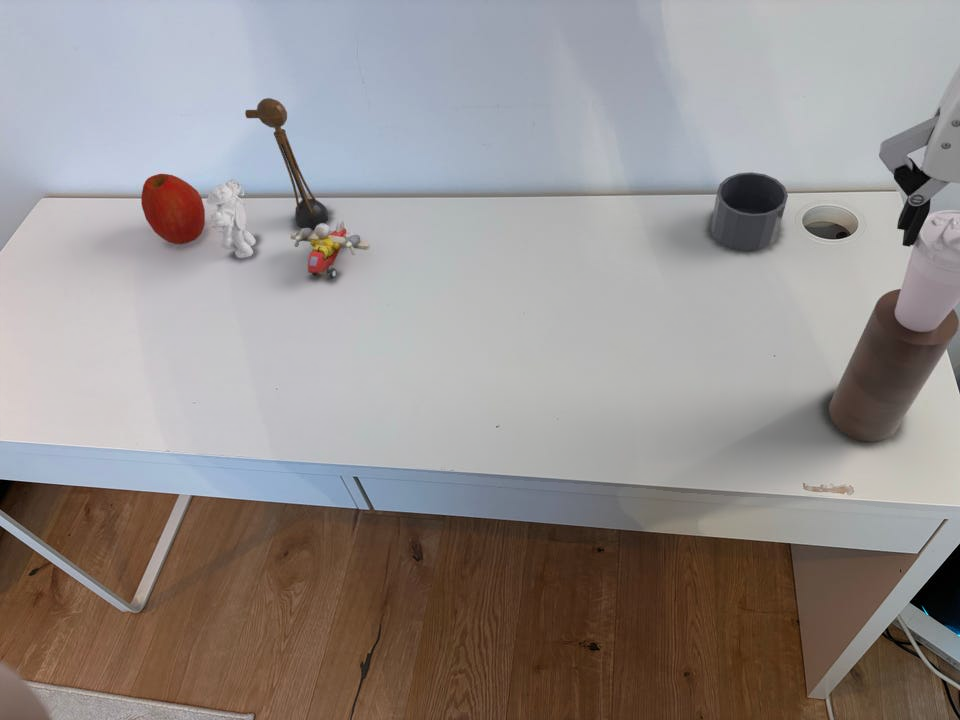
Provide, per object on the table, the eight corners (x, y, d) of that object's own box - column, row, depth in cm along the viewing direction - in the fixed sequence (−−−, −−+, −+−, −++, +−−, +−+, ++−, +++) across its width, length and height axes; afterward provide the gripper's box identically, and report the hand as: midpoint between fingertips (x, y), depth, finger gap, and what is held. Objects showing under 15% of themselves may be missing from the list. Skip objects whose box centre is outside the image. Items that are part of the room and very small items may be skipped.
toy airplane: (316, 289, 99) (301, 255, 94) (295, 251, 104) (281, 216, 99) (377, 263, 101) (366, 228, 96) (353, 226, 106) (342, 191, 101)
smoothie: (881, 339, 64) (943, 218, 53) (874, 287, 68) (930, 163, 57) (963, 347, 63) (1043, 223, 52) (951, 293, 66) (1023, 166, 55)
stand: (900, 398, 78) (960, 297, 66) (895, 449, 75) (958, 353, 62) (832, 382, 81) (878, 281, 68) (824, 431, 77) (871, 334, 64)
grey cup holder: (782, 214, 98) (792, 178, 93) (771, 256, 93) (781, 221, 89) (718, 203, 100) (725, 168, 96) (705, 244, 96) (711, 209, 91)
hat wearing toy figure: (252, 269, 103) (219, 202, 94) (226, 270, 103) (190, 204, 94) (266, 226, 108) (236, 159, 99) (241, 227, 109) (209, 161, 99)
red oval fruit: (213, 210, 112) (183, 151, 104) (215, 244, 107) (183, 186, 99) (161, 223, 112) (126, 166, 103) (159, 258, 107) (123, 201, 98)
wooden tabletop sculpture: (286, 229, 107) (235, 110, 92) (296, 208, 110) (248, 89, 95) (323, 230, 106) (278, 109, 91) (332, 209, 109) (290, 88, 93)
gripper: (1240, 7, 43) (1080, 232, 58) (919, -15, 49) (845, 195, 63) (1265, 75, 39) (1086, 299, 54) (912, 43, 45) (834, 254, 59)
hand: (957, 241), depth 58 cm, fingers closed on smoothie, 6 cm apart
